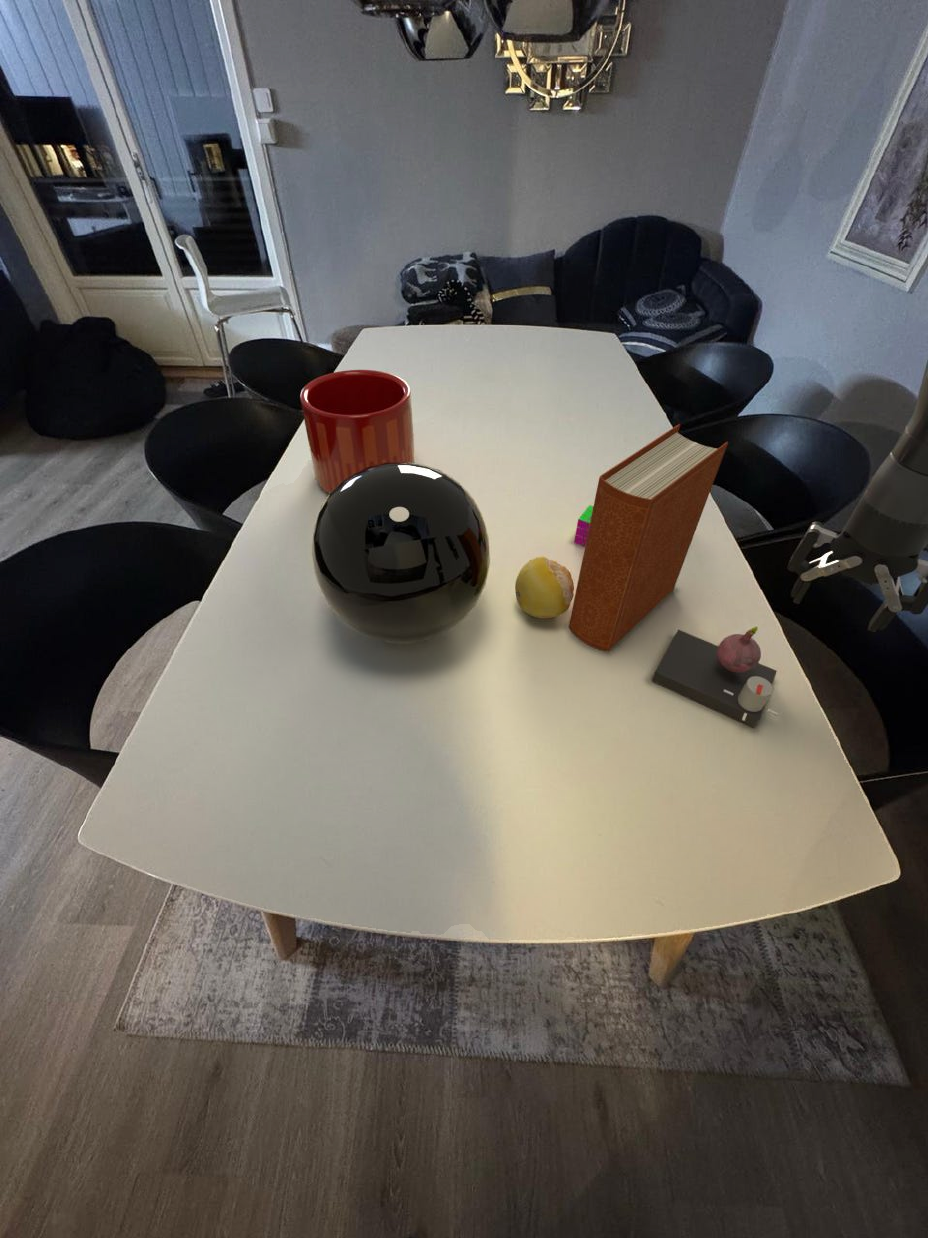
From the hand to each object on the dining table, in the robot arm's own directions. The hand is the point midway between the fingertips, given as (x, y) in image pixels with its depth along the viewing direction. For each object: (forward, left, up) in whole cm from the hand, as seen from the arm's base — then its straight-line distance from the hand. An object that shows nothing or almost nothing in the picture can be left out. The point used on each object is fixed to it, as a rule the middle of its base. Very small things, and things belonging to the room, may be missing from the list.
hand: (833, 613), depth 70 cm
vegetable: (+7, -5, -20) cm, 22 cm away
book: (+27, -10, -23) cm, 37 cm away
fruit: (+39, -2, -23) cm, 45 cm away
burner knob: (+3, 0, -20) cm, 20 cm away
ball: (+58, +13, -23) cm, 64 cm away
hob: (+8, -2, -23) cm, 24 cm away
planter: (+94, -18, -23) cm, 99 cm away
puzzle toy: (+40, -26, -23) cm, 53 cm away
